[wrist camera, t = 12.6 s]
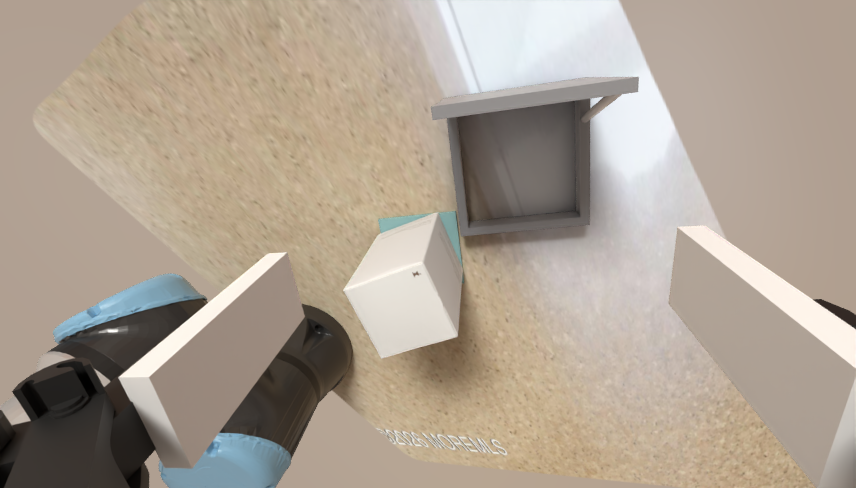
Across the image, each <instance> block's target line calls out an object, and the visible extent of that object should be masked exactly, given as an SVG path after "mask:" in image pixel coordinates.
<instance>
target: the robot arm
mask: <svg viewBox="0 0 856 488" xmlns="http://www.w3.org/2000/svg"><path fill="white" fill-rule="evenodd" d="M669 305H670V306H671V307H672V309H673V310H674V311H675V312H676V314H677V315H678V316H679V317H680V319H681V320H682V321H683V322H684V324H685V325H686V326H687V327H688V329H689V330H690V331H691V332H692V334H693V335H694V336H695V337H696V338H697V340H698V341H699V342H700V343H701V345H702V346H703V347H704V348H705V350H706V351H707V352H708V353H709V355H710V356H711V357H712V358H713V360H714V361H715V362H716V363H717V365H718V366H719V367H720V368H721V370H722V371H723V372H724V373H725V375H726V376H727V377H728V378H729V380H730V381H731V382H732V383H733V385H734V386H735V387H736V388H737V390H738V391H739V392H740V393H741V395H742V396H743V397H744V398H745V400H746V401H747V402H748V403H749V405H750V406H751V407H752V408H753V410H754V411H755V412H756V413H757V415H758V416H759V417H760V418H761V420H762V421H763V422H764V423H765V425H766V426H767V427H768V428H769V430H770V431H771V432H772V433H773V435H774V436H775V437H776V438H777V440H778V441H779V442H780V443H781V445H782V446H783V447H784V448H785V450H786V451H787V452H788V453H789V455H790V456H791V457H792V458H793V460H794V461H795V462H796V463H797V465H798V466H799V467H800V468H801V469H802V471H803V472H804V473H805V474H806V476H807V477H808V478H809V479H810V481H811V482H812V483H813V484H814V486H815V487H816V488H856V315H855V314H854V313H852V312H850V311H849V310H846V309H844V308H841V307H839V306H836V305H834V304H831V303H829V302H826V301H824V300H822V299H816V300H812V299H811V298H809V297H808V296H806V295H805V294H803V293H802V292H801V291H799V290H798V289H796V288H795V287H793V286H792V285H790V284H789V283H788V282H786V281H785V280H783V279H782V278H780V277H779V276H777V275H776V274H774V273H773V272H771V271H770V270H769V269H767V268H765V267H764V266H763V265H761V264H760V263H758V262H757V261H756V260H754V259H753V258H751V257H750V256H748V255H747V254H745V253H744V252H742V251H741V250H740V249H738V248H737V247H735V246H734V245H732V244H731V243H729V242H728V241H726V240H725V239H724V238H722V237H721V236H719V235H718V234H716V233H715V232H713V231H712V230H710V229H709V228H708V227H706V226H705V225H703V226H687V227H677V236H676V244H675V253H674V262H673V270H672V279H671V287H670V296H669ZM53 335H54V337H55V342H57V343H58V344H59V345H58V346H56V347H55V348H53V349H51V350H50V351H48V352H47V353H45V354H44V355H42V356H41V357H40V359H39V361H38V365H37V369H36V373H34V374H33V375H31V376H29V377H28V378H26V379H25V380H24V381H22V382H21V383H19V384H18V385H17V387H16V388H15V389H14V390H13V391H12V392H13V394H14V395H15V396H14V397H12V398H11V399H9V400H8V401H6V402H5V403H3V404H2V405H0V488H149V472H148V469H147V468H146V465H145V463H144V462H145V461H146V459H147V458H148V457H149V456H150V455H151V454H152V453H153V451H154V450H155V451H156V452H157V454H158V456H159V458H160V462H159V471H160V472H161V477H162V480H163V481H164V483H165V484H166V485H167V486H168V487H169V488H275V487H276V486H277V484H278V482H279V481H280V479H281V477H282V476H283V474H284V472H285V471H286V469H288V467H289V466H290V463H291V458H292V456H293V454H294V452H295V450H296V448H297V446H298V444H299V442H300V440H301V438H302V436H303V434H304V431H305V429H306V427H307V425H308V423H309V421H310V419H311V417H312V415H313V413H314V411H315V409H316V407H317V405H318V403H319V402H320V401H321V400H322V399H323V398H324V397H325V396H326V395H327V393H328V392H329V391H331V390H333V389H334V388H335V387H336V386H337V385H338V384H339V383H340V382H341V381H342V379H343V378H344V376H345V374H346V372H347V370H348V368H349V366H350V363H351V359H352V348H351V343H350V340H349V338H348V336H347V334H346V332H345V330H344V329H343V328H342V326H341V325H340V324H339V323H338V322H337V321H336V320H335V319H334V318H333V317H331V316H330V315H328V314H327V313H325V312H324V311H322V310H320V309H317V308H315V307H312V306H308V305H304V304H301V301H300V297H299V293H298V290H297V286H296V282H295V279H294V275H293V271H292V268H291V264H290V261H289V257H288V253H287V252H284V253H269V254H267V255H266V256H264V257H263V258H262V259H261V260H260V261H258V262H257V263H256V264H255V265H254V266H252V267H251V268H250V269H249V270H247V271H246V272H245V273H244V274H243V275H241V276H240V277H239V278H238V279H237V280H235V281H234V282H233V283H232V284H231V285H229V286H228V287H227V288H226V289H225V290H223V291H222V292H221V293H220V294H218V295H217V296H216V297H215V298H214V299H212V300H211V301H210V302H209V303H208V302H207V298H206V297H205V296H204V295H200V294H199V293H198V292H197V291H196V290H195V289H194V287H193V286H191V284H189V282H188V281H187V280H186V279H185V278H183V277H182V276H180V275H176V274H163V275H159V276H156V277H153V278H151V279H148V280H146V281H144V282H141V283H139V284H137V285H134V286H132V287H130V288H128V289H126V290H124V291H121V292H119V293H118V294H115V295H113V296H111V297H109V298H107V299H105V300H104V301H101V302H99V303H98V304H97V305H96V306H93V307H90V308H89V309H87V310H85V311H83V312H81V313H78V314H77V315H75V316H73V317H71V318H70V319H68V320H66V321H65V322H63V323H62V324H60V325H59V326H58V327H56V329H54V331H53Z"/></svg>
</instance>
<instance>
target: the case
mask: <svg viewBox="0 0 856 488" xmlns="http://www.w3.org/2000/svg"><path fill="white" fill-rule="evenodd" d="M638 81H639V77H585V78H578V79H571V80H565V81H558V82H551V83H544V84H537V85H530V86H524V87H517V88H510V89H503V90H496V91H489V92H482V93H476V94H469V95H462V96H455V97H448V98H445V99H443V100H441V101H440V102H438V103H436V104H435V105H433V106H431V111H432V119H433V120H438V119H445V118H447V123H448V132H449V140H450V149H451V157H452V165H453V174H454V182H455V191H456V199H457V207H458V216H459V224H460V233H461V236H471V235H482V234H493V233H504V232H516V231H527V230H538V229H549V228H560V227H571V226H582V225H590V119H591V118H593V117H594V116H595V115H597V114H598V113H599V112H600V111H602V110H603V109H604V108H605V107H607V106H608V105H609V104H610V103H612V102H613V101H614V100H616V99H617V98H618V97H619V96H621V95H622V94H626V93H634V92H638ZM597 97H603V98H602V99H601V100H600V101H599V102H598V103H596V104H595V105H594V106H593V107H592V108H591V109H590V98H597ZM568 101H575V181H576V211H570V212H560V213H550V214H539V215H529V216H518V217H508V218H497V219H487V220H477V221H469V219H468V210H467V201H466V192H465V183H464V173H463V164H462V155H461V146H460V137H459V128H458V119H457V117H460V116H467V115H474V114H481V113H489V112H496V111H503V110H510V109H518V108H525V107H532V106H539V105H547V104H554V103H561V102H568Z"/></svg>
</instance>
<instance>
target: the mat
mask: <svg viewBox="0 0 856 488" xmlns="http://www.w3.org/2000/svg"><path fill="white" fill-rule="evenodd" d="M432 214H433V213H432ZM428 215H431V214H422V215H412V216H403V217H393V218H383V219H379V220H378V221H379V226H380V231H381V233H383V232H386V231H388V230H391V229H394V228H396V227H399V226H402V225H404V224H407V223H410V222H412V221H415V220H417V219H420V218H423V217H425V216H428ZM439 215H440V218H441V220H442V222H443V225H444V227H445V229H446V231H447V234H448V236H449V238H450V241H451V243H452V245H453V247H454V250H455V252H456V254H457V257H458V259H459V261H460V264H461V266H462V260H461V252H460V243H459V235H458V227H457V219H456V211H452V212H442V213H439ZM462 283H464V276H463V274H462Z"/></svg>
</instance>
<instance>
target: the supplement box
mask: <svg viewBox="0 0 856 488" xmlns="http://www.w3.org/2000/svg"><path fill="white" fill-rule="evenodd" d="M462 274H463V268H462V266H461V264H460V261H459V259H458V257H457V254H456V252H455V250H454V247H453V245H452V243H451V241H450V238H449V236H448V234H447V231H446V229H445V227H444V225H443V222H442V220H441V218H440V215H439V213H438V212H436V213H433V214H431V215H428V216H425V217H423V218H420V219H417V220H415V221H412V222H410V223H407V224H404V225H402V226H399V227H396V228H394V229H391V230H388V231H386V232H383V233H381V234H379V235H378V236H377V237H376V239H375V240H374V242H373V244H372V245H371V247H370V249H369V250H368V252H367V253H366V255H365V257H364V258H363V260H362V261H361V263H360V265H359V266H358V268H357V269H356V271H355V273H354V274H353V276H352V277H351V279H350V280H349V282H348V284H347V285H346V287H345V288H344V290H343V291H344V293H345V294H346V296H347V298H348V300H349V301H350V303H351V305H352V307H353V309H354V310H355V312H356V314H357V316H358V318H359V319H360V321H361V323H362V325H363V327H364V328H365V330H366V332H367V334H368V336H369V337H370V339H371V341H372V343H373V344H374V346H375V348H376V350H377V352H378V353H379V355H380V357H381V358H385V357H389V356H392V355H396V354H399V353H403V352H406V351H409V350H413V349H416V348H420V347H423V346H427V345H431V344H434V343H438V342H442V341H445V340H449V339H452V338H455V337H458V329H459V315H460V301H461V287H462Z"/></svg>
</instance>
